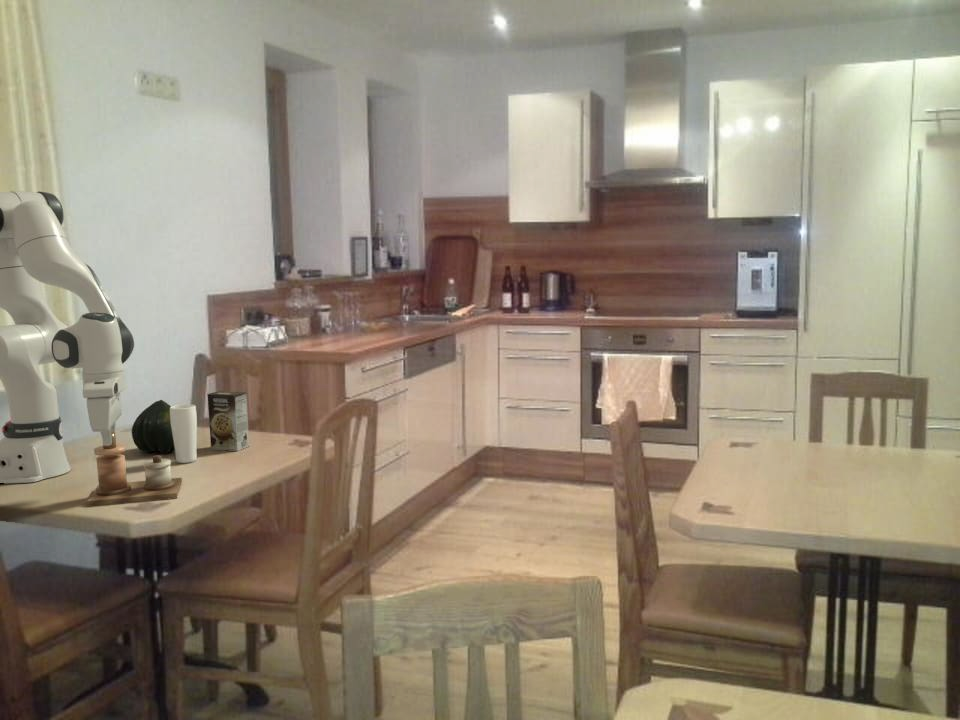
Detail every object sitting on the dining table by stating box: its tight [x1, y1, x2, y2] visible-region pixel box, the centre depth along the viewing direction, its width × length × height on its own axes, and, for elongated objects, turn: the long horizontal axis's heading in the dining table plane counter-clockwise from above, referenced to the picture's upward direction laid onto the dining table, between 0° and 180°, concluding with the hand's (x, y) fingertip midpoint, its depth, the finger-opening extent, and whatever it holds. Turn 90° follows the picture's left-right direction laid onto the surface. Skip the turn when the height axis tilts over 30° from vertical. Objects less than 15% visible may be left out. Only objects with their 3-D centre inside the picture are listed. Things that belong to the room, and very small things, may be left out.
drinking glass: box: [170, 403, 198, 464], centre depth 231 cm, size 7×7×15 cm
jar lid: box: [93, 431, 127, 457], centre depth 199 cm, size 7×7×4 cm
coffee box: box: [206, 390, 250, 452], centre depth 245 cm, size 9×6×16 cm
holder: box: [86, 453, 183, 507], centre depth 201 cm, size 19×14×9 cm
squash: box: [131, 399, 175, 455], centre depth 245 cm, size 14×15×15 cm
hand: (109, 443), depth 199 cm, fingers closed on jar lid, 3 cm apart
